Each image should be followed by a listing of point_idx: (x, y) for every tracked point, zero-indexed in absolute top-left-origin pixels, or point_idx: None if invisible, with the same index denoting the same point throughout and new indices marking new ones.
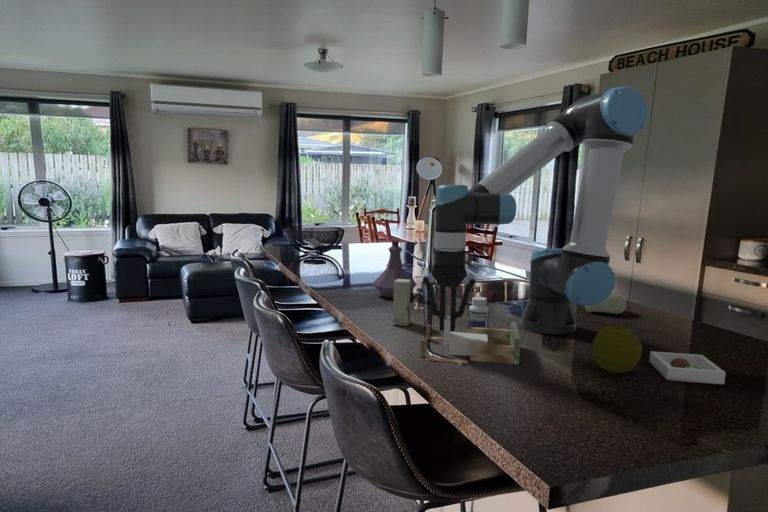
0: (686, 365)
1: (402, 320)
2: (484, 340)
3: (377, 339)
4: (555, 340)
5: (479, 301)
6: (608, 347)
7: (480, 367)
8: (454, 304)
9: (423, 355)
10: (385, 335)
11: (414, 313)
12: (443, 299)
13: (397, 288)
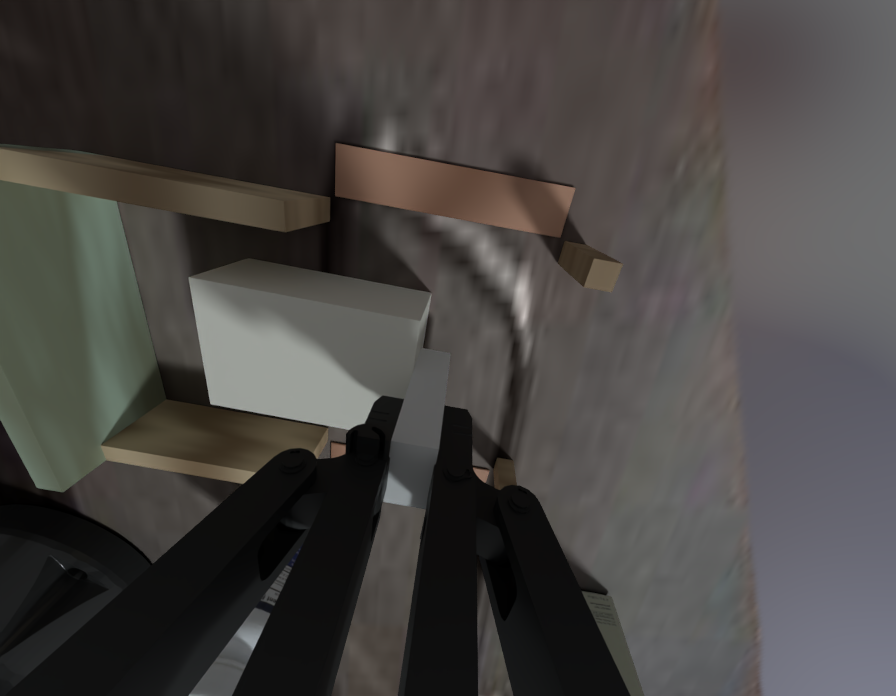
0: None
1: None
2: (209, 302)
3: (729, 468)
4: (15, 457)
5: (206, 684)
6: None
7: (269, 82)
8: (308, 566)
9: (573, 243)
10: (675, 508)
11: (507, 671)
12: (433, 655)
13: None
